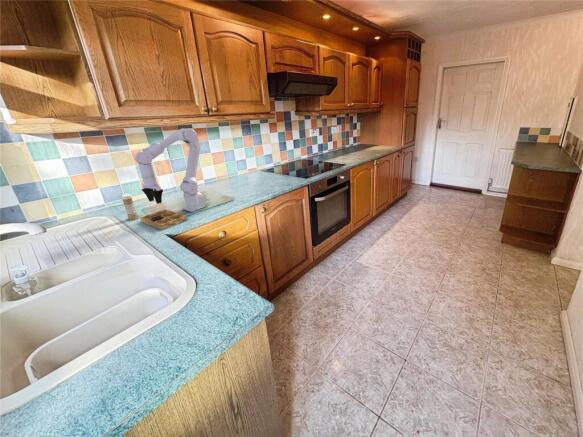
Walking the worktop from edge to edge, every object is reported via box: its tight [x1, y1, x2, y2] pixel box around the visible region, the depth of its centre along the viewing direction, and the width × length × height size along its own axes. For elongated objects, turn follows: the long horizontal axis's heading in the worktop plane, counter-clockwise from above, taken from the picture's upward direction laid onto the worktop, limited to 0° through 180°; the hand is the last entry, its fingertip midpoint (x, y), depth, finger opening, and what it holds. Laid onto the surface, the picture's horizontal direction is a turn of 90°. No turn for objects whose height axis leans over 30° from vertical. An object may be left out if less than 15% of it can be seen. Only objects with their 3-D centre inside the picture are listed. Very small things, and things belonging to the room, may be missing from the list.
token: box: [151, 214, 162, 222], centre depth 131 cm, size 4×4×4 cm
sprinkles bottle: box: [120, 193, 139, 221], centre depth 137 cm, size 5×5×14 cm
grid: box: [140, 208, 188, 231], centre depth 134 cm, size 14×20×2 cm
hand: (155, 202), depth 134 cm, fingers open, 7 cm apart
